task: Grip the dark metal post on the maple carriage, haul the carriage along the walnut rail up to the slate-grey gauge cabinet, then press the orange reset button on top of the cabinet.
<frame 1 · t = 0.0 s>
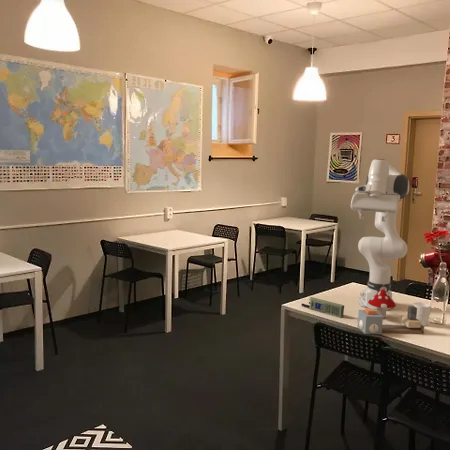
hand: (372, 220, 214), 54 cm above the table, tool tilted 30°, fingers open, 8 cm apart
white cup: (420, 324, 245), on the table
handheld radio: (321, 312, 259), on the table
rail: (398, 330, 234), on the table
gauge cabinet: (369, 330, 233), on the table
reset button: (370, 312, 232), point 9 cm above the table, slide at 0.0 cm
decorative mushroom: (380, 317, 253), on the table
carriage: (411, 316, 234), point 7 cm above the table, slide at 0.0 cm
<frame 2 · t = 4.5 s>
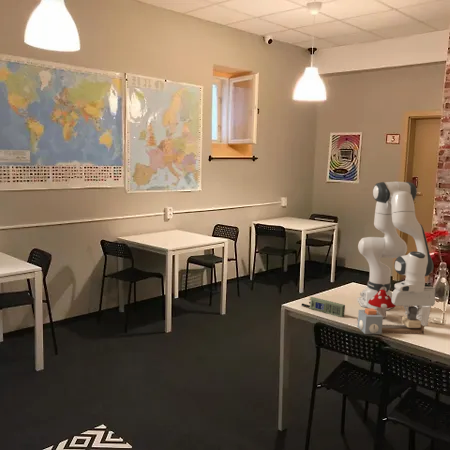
hand: (412, 314, 234), 8 cm above the table, tool pointing down, fingers closed on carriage, 3 cm apart
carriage: (411, 316, 234), point 7 cm above the table, slide at 0.0 cm, touching gripper
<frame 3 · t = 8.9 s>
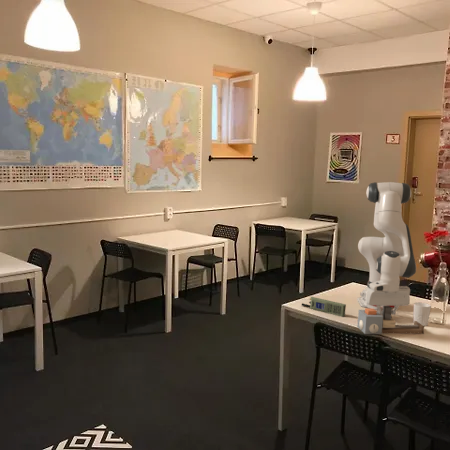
hand: (386, 314, 232), 8 cm above the table, tool pointing down, fingers open, 5 cm apart
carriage: (386, 315, 233), point 7 cm above the table, slide at 12.5 cm
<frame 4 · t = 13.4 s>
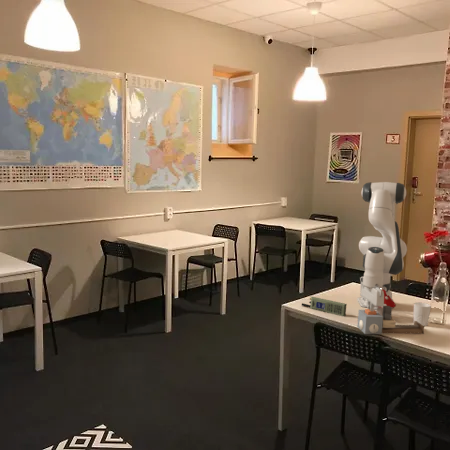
hand: (370, 310, 231), 10 cm above the table, tool pointing down, fingers closed, pressing on reset button
reset button: (370, 313, 232), point 8 cm above the table, slide at 0.4 cm, touching gripper
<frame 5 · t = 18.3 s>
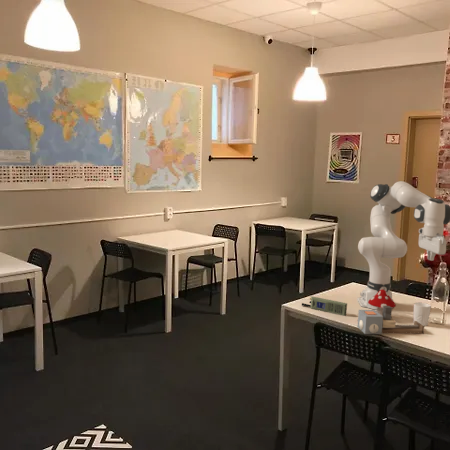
hand: (430, 260, 239), 33 cm above the table, tool pointing down, fingers closed
reset button: (370, 315, 232), point 7 cm above the table, slide at 1.5 cm
at the end: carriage slide at 12.5 cm; reset button slide at 1.5 cm; the gripper is holding nothing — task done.
